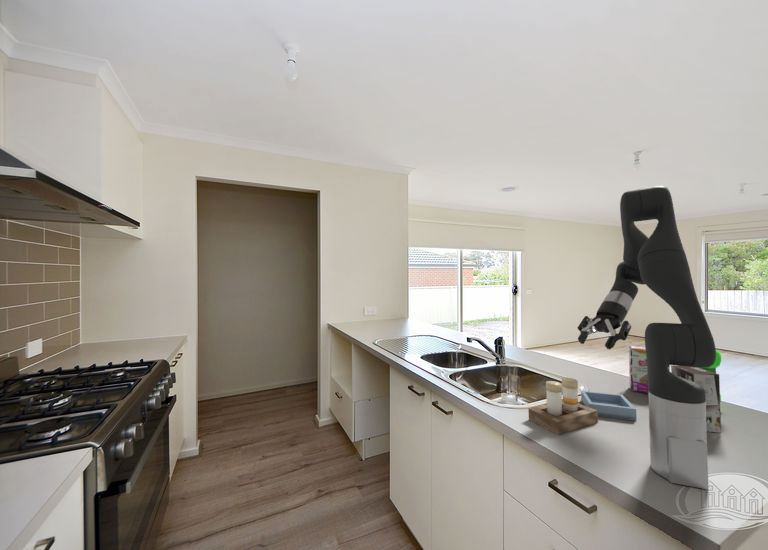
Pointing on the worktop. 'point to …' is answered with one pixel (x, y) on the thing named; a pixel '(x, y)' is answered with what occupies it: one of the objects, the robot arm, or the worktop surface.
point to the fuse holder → (563, 418)
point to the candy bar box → (638, 369)
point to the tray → (609, 405)
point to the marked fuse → (570, 394)
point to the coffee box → (711, 390)
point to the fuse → (554, 398)
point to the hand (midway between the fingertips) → (593, 344)
